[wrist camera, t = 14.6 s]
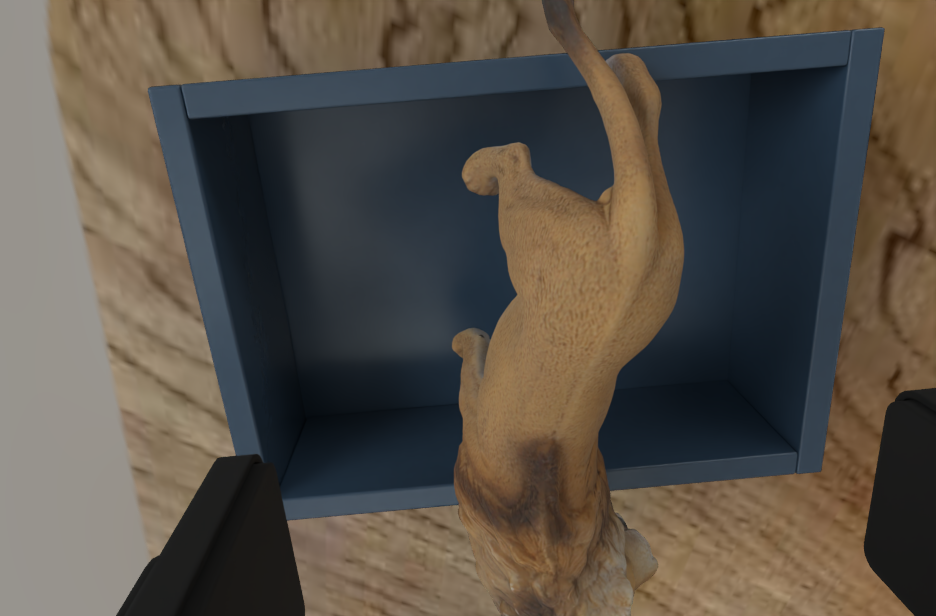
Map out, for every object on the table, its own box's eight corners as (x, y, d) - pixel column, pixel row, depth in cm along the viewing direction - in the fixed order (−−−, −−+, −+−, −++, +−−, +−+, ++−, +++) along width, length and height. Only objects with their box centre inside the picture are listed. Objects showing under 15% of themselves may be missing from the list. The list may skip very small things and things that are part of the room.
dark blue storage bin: (293, 425, 24) (251, 524, 19) (225, 85, 20) (145, 87, 14) (737, 386, 25) (822, 472, 19) (765, 41, 20) (886, 27, 15)
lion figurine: (598, 410, 23) (679, 681, 16) (453, 422, 22) (470, 700, 16) (660, -44, 13) (931, 135, 6) (411, -28, 13) (409, 173, 6)
